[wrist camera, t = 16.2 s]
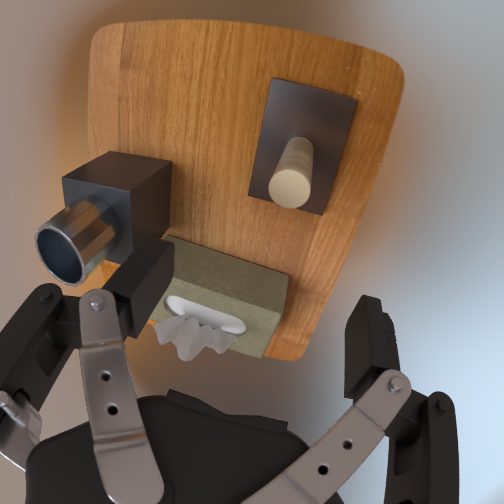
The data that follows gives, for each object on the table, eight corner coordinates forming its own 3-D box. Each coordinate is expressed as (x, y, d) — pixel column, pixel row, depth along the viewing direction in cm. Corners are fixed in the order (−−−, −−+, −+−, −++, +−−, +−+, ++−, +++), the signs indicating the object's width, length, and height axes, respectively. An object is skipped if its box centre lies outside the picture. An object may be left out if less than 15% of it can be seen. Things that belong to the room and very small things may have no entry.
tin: (84, 182, 29) (40, 211, 23) (130, 223, 30) (93, 260, 25) (67, 223, 32) (31, 254, 27) (108, 260, 34) (76, 297, 28)
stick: (299, 131, 30) (288, 161, 20) (319, 150, 31) (319, 190, 21) (280, 149, 32) (259, 189, 22) (300, 168, 32) (289, 216, 22)
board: (273, 77, 29) (271, 77, 27) (355, 99, 28) (357, 100, 27) (250, 191, 37) (247, 195, 35) (322, 210, 36) (322, 216, 35)
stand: (109, 151, 37) (61, 177, 29) (172, 161, 36) (130, 191, 28) (111, 213, 43) (72, 248, 35) (169, 228, 42) (134, 269, 34)
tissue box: (292, 275, 42) (275, 369, 29) (272, 320, 48) (251, 406, 35) (165, 233, 43) (106, 306, 30) (161, 282, 48) (114, 355, 35)
